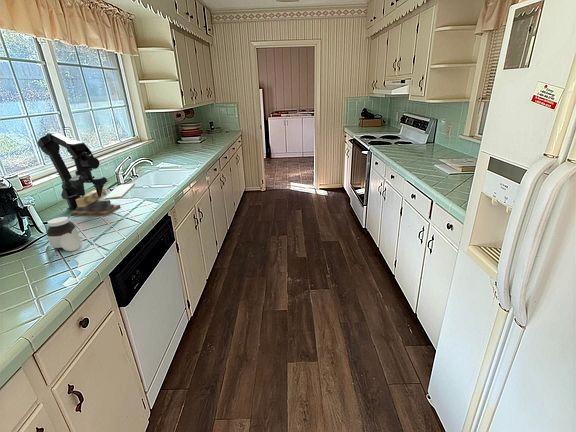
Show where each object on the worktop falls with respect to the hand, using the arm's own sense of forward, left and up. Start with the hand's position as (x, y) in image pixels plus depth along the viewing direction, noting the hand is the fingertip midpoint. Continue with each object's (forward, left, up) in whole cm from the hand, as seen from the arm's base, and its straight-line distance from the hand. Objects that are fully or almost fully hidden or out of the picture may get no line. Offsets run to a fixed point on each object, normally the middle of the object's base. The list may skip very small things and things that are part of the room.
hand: (91, 197), depth 165 cm
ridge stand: (0, 0, -8) cm, 8 cm away
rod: (0, 0, -2) cm, 2 cm away
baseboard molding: (-12, +36, -9) cm, 39 cm away
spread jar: (+20, -41, -8) cm, 46 cm away
